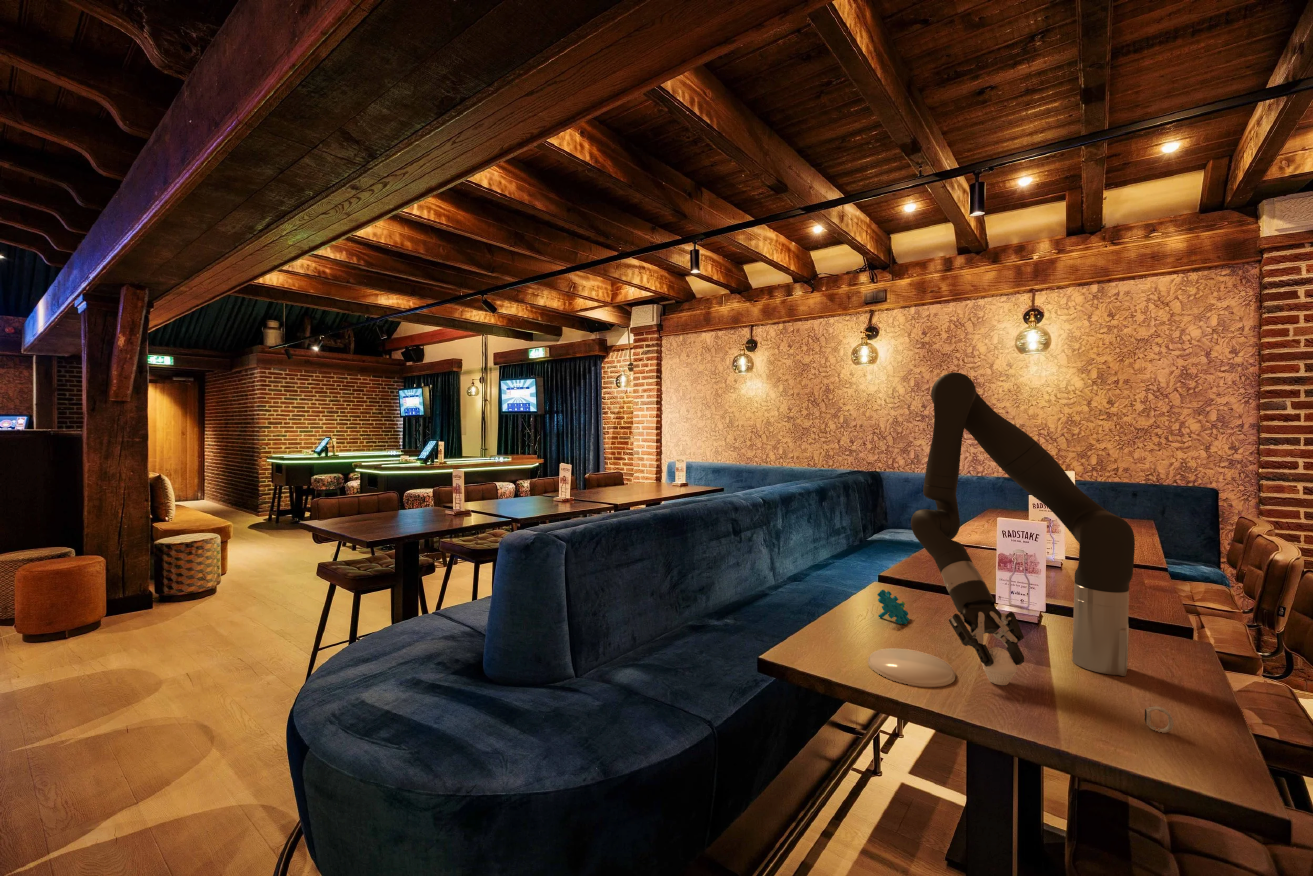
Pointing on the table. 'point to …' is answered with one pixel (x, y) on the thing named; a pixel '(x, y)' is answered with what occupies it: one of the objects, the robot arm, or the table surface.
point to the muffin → (1000, 667)
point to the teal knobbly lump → (892, 607)
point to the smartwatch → (1148, 710)
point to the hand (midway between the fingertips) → (1005, 664)
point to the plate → (911, 667)
